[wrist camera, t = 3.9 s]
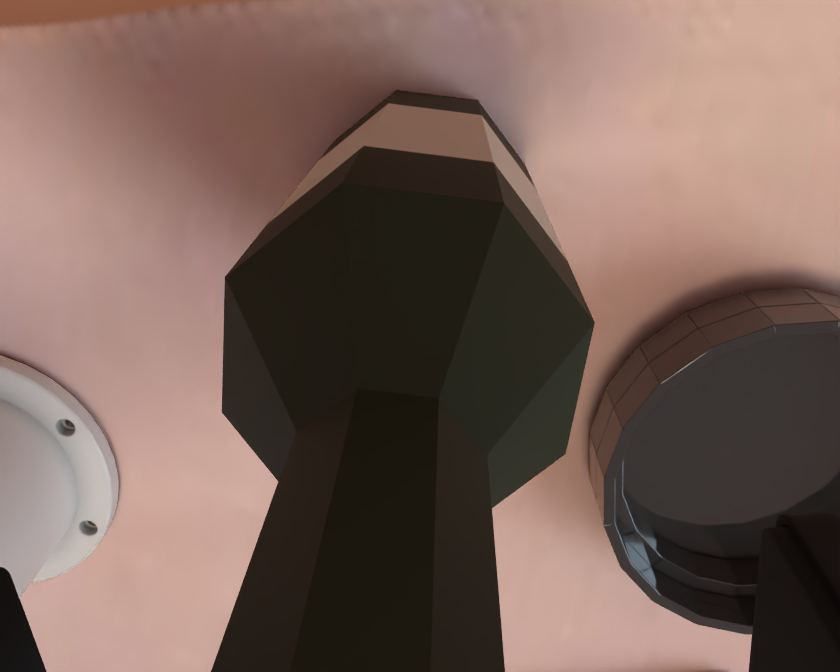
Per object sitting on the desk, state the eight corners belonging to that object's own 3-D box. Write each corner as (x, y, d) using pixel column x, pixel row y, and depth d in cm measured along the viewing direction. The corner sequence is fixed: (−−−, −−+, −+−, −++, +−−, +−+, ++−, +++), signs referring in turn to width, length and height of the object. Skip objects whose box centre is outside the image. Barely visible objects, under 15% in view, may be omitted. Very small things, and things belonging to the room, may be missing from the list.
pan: (588, 578, 40) (603, 641, 36) (586, 297, 34) (603, 336, 30) (899, 563, 39) (949, 626, 35) (951, 272, 33) (1018, 308, 29)
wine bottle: (383, 44, 30) (-317, 545, 3) (568, 153, 32) (1372, 1237, 4) (288, 229, 33) (-501, 1370, 6) (461, 322, 35) (502, 1605, 7)
